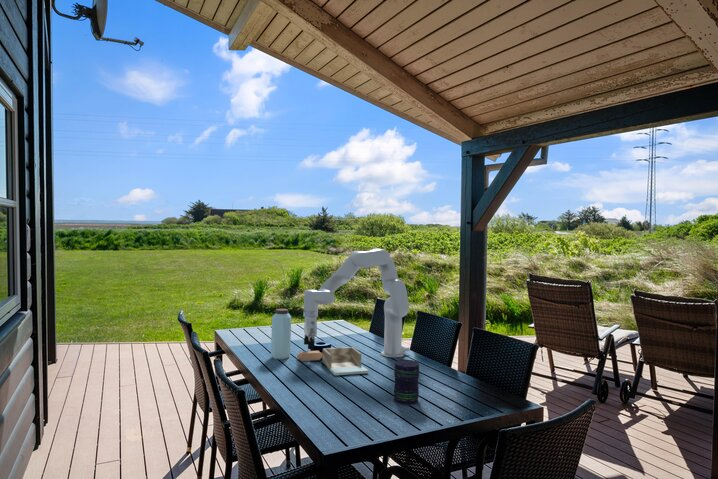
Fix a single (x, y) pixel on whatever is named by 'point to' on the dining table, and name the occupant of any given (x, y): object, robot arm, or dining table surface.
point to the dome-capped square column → (309, 355)
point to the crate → (341, 357)
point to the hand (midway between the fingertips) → (308, 346)
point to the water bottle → (281, 334)
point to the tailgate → (348, 370)
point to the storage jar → (406, 382)
